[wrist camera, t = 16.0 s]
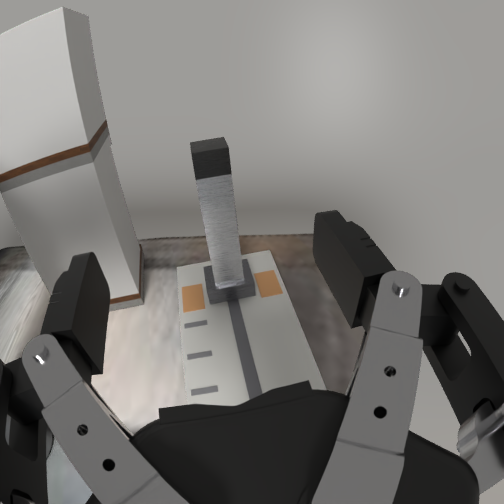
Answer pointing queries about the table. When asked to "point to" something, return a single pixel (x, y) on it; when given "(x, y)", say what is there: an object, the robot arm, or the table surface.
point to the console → (241, 338)
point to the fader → (220, 223)
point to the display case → (63, 156)
